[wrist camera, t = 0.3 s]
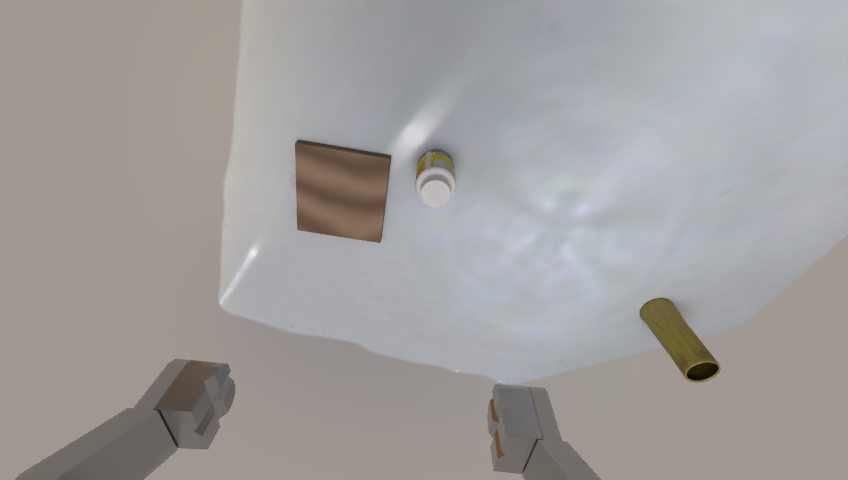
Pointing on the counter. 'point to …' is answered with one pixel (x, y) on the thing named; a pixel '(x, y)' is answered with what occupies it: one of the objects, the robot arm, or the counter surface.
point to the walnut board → (341, 191)
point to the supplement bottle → (435, 178)
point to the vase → (679, 341)
